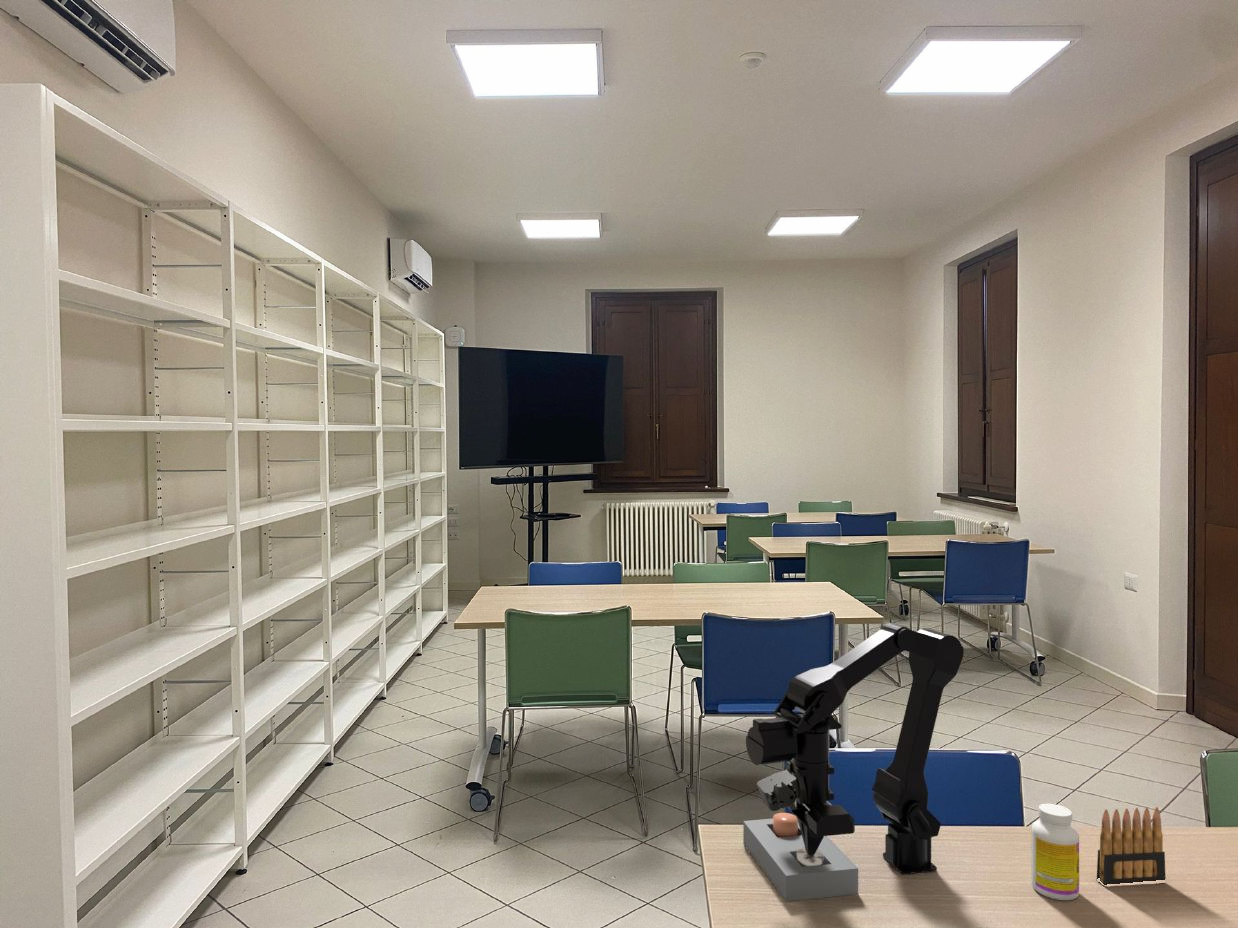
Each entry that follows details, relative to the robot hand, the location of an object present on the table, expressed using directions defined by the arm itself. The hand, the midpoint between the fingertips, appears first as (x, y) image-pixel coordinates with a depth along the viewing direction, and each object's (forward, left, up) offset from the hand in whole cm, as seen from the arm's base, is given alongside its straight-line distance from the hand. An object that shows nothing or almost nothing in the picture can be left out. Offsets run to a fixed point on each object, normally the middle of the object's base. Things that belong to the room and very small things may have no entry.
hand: (810, 853), depth 129 cm
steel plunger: (0, 0, -3) cm, 3 cm away
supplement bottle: (-37, +10, -5) cm, 38 cm away
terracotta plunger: (0, -10, -2) cm, 10 cm away
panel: (0, -5, -5) cm, 7 cm away
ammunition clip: (-51, +10, -5) cm, 52 cm away
